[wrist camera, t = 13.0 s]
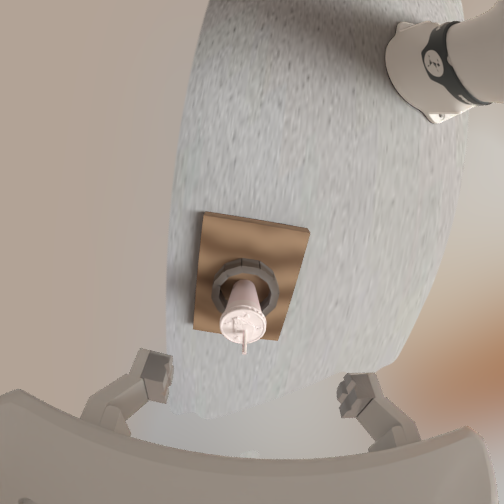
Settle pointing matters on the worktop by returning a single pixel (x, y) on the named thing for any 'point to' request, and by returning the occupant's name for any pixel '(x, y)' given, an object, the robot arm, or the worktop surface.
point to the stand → (247, 267)
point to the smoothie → (243, 315)
